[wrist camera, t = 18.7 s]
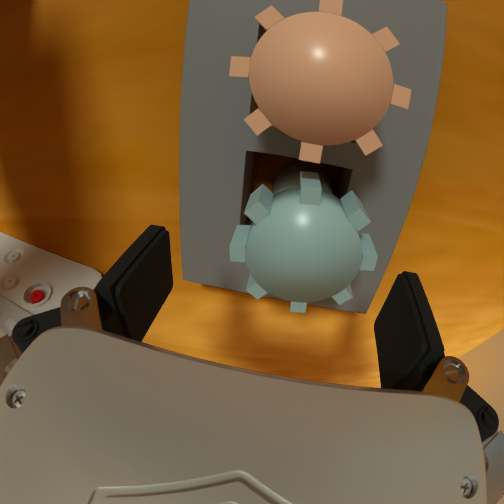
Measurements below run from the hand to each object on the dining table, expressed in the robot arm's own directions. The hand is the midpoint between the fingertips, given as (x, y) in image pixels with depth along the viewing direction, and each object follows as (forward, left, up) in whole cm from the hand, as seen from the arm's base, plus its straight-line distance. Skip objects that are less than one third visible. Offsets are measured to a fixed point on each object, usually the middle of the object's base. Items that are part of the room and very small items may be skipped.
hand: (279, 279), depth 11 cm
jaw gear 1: (-8, 0, -10) cm, 12 cm away
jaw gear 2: (0, 0, -10) cm, 10 cm away
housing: (-4, 0, -10) cm, 11 cm away
